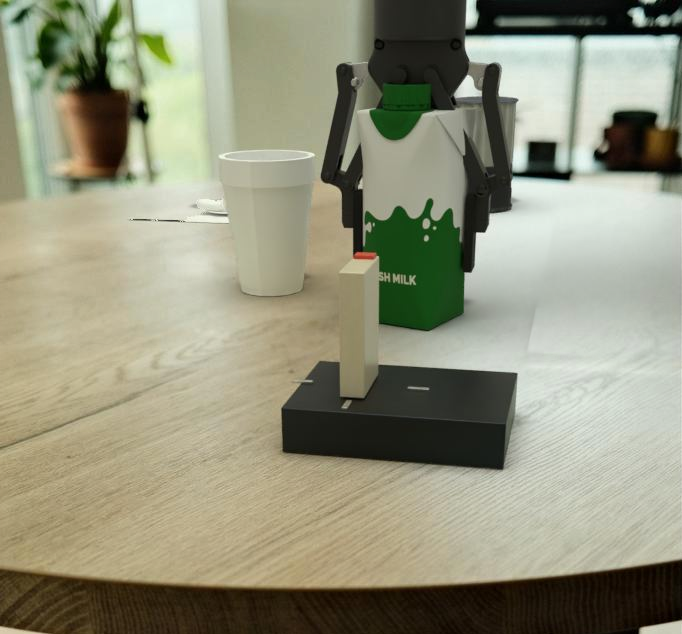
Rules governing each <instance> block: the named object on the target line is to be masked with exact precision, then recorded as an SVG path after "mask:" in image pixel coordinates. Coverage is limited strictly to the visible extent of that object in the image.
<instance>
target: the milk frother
mask: <svg viewBox="0 0 682 634" xmlns="http://www.w3.org/2000/svg"><path fill="white" fill-rule="evenodd" d="M499 98H500V104H501V110H502V116H503V121H504V127H505V133H506V139H507V145H508V150H509V156H510V162H511V168H512V169H513V162H514V147H515V134H516V133H515V131H516V130H515V128H516V113H517V103H518V102H519V98H517V97H511V96H500V95H499ZM455 99H456V101H457V103H458V106H459V107H462V108H478V109H477V115H476V121H475V127H474V134H473V141H474V144H475V146H476V148H477V150H478V153H479V155H480V157H481V159H482V162H483V164H484V166H485V168H486V171H487V173H488V175H489V176H491V175H493V174H495V170H494V165H493V159H492V154H491V148H490V143H489V137H488V131H487V126H486V120H485V115H484V109H483V103H482V95H478V96H476V95H475V96H473V95H472V96H459V97H455ZM512 189H513V188H512V182H511V183H510V185H509V186H508V187H506V188H502V189H499V190H496V191H494V192H493V193H492V194H491V199H490V213H494V212H502V211H507V210H511V208H513V203H512V193H513V190H512ZM469 192H475V189H474V187H473V185H472V182H471V180H470V178H469V188H468V193H469Z"/></svg>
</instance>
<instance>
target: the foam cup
mask: <svg viewBox="0 0 682 634" xmlns="http://www.w3.org/2000/svg"><path fill="white" fill-rule="evenodd" d="M217 156H218V157H217V158H218V175H219V177H218V178H219V182H220V185H221V184H222V185H223V191H224V196H225V202H226V208H227V213H228V219H229V223H228V224H229V229H230V230H229V231H230V234H231V241H232V246H233V252H234V257H235V262H236V269H237V274H238V280H239V284H240V290H241V292H242V293H244V294H247V295H248V296H249V295H250V296H257V297H280V296H291V295H293V294H297V293H299V292H301V291H302V290H303V289H304V287H303V285H304V281H305V272H306V263H307V254H308V253H307V252H308V245H309V244H308V243H309V233H310V224H311V216H312V215H311V214H312V204H313V195H314V185H315V182H316V181H317V160H316V159H317V155H316V154H315V153H313V152H310V151H304V150H295V149H253V150H239V151H231V152H224V153H221V154H218V155H217Z"/></svg>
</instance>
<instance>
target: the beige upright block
mask: <svg viewBox="0 0 682 634" xmlns="http://www.w3.org/2000/svg"><path fill="white" fill-rule="evenodd" d="M376 254H377V253H367V252H357V253H356V254H355V255H354V258H353V257H352V258H351V259H350V260H349V262H347V263H346V264H345V265H344V266H343V267H342V269H340V271H338V330H339V331H338V332H339V333H338V334H339V335H338V337H339V341H338V343H339V362H340V397H350V398H364V397H365V396H366V394H367V392H368V391H369V389H370V387H371V386H372V384H373V382H374V381H375V379H376V377H377V375H378V364H379V353H380V352H379V346H380V345H379V343H380V342H379V341H380V339H379V338H380V337H379V335H380V334H379V333H380V332H379V331H380V329H379V327H380V326H379V325H380V322H379V257H378V256H376Z"/></svg>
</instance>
